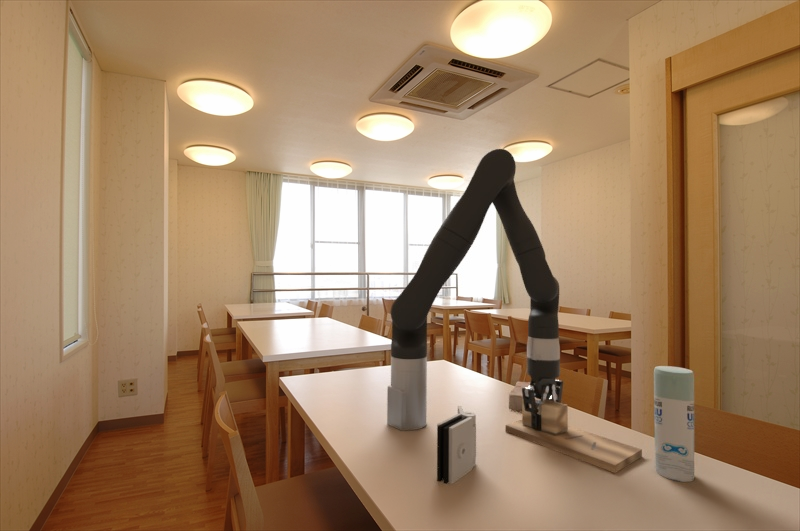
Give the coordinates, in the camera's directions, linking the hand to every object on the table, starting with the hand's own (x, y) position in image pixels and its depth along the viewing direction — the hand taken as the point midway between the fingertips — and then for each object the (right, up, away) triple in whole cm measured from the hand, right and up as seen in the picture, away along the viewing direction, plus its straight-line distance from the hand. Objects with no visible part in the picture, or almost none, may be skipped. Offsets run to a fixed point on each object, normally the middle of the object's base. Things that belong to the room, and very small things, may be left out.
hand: (543, 426), depth 97 cm
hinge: (-23, -1, -17) cm, 29 cm away
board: (+4, -2, -5) cm, 7 cm away
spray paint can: (+18, -2, -19) cm, 27 cm away
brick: (+4, -3, +24) cm, 25 cm away
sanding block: (0, 0, 0) cm, 0 cm away
